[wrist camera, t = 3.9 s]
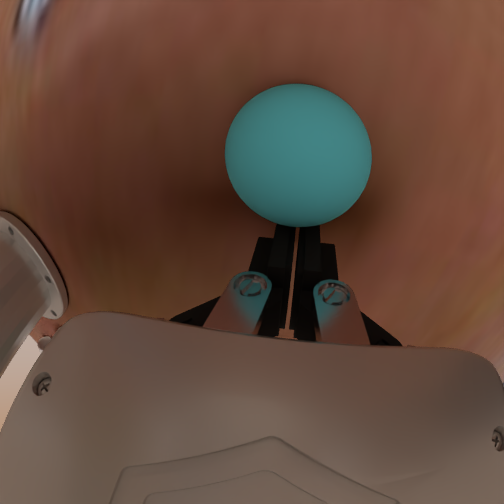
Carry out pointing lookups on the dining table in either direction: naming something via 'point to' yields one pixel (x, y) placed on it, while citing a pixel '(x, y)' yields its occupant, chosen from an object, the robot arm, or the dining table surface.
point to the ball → (298, 155)
